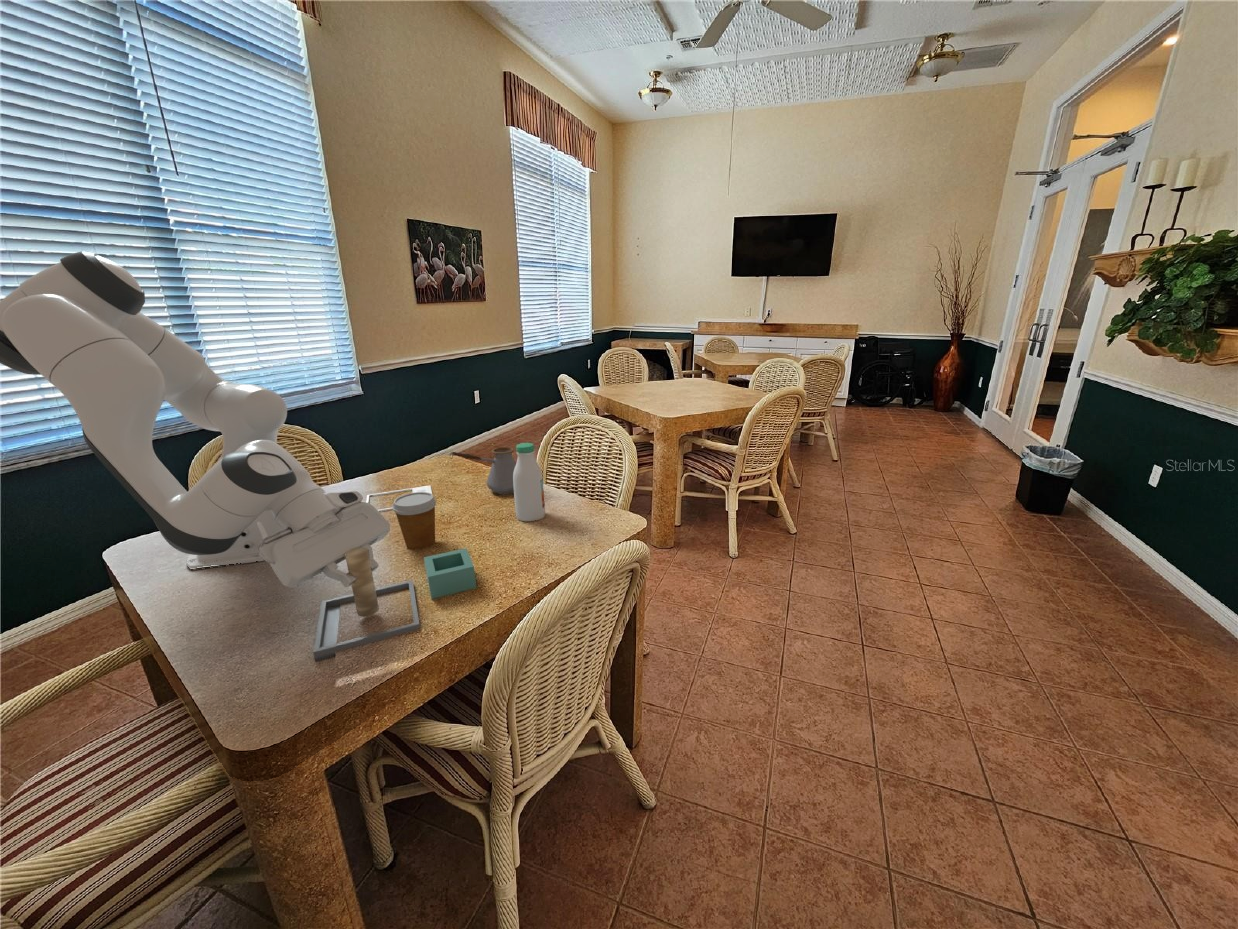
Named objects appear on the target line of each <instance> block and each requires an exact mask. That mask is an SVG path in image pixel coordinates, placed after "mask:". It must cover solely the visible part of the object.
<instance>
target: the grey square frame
mask: <svg viewBox="0 0 1238 929" xmlns="http://www.w3.org/2000/svg"><path fill="white" fill-rule="evenodd" d="M414 587H415V586H414V581H413V579H412V580H407V581H403V582H399V583H394V584H389V585H385V586H380V587H377V588H376V587H375V590H376V596H380V595H384V594H387V593H392V592H396V591H400V590H404V589H407V588H408V589H409V595H410V603H411V610H412V618H413V622H412V623H408V624H405V625H400V626H396V627H392V628H390V629H385V630H381V631H378V632H373V633H371V634H366V635H362V636H359V637H355V638H351V639H347V640H344V641H340V642H338V632H339V624H340V612H341V611H340V610H341V605H342V604H345V603H349V602H355V600H354V595H353V593H351V594H346V595H342V596H337V597H334V598H330V599H325V600H324V599H323V600H321V602H320V608H319V615H318V620H317V625H316V626H317V627H316V633H315V638H314V645H313V651H312V653H313V656H314V657H313V658H314V661H315V662H319V661H323V660H326V659H329V658H333V657H336V653H338V652H340V651H341V652H342V651H345V650H349V649H353V648H357V647H358V646H362V645H367V644H370V643H374V642H378V641H381V640H385V639H388V638H392V637H393V638H394V637H395V636H399V635H405V634H407V633H410V632H415V631H418V630H421V626H420V620H419V612H418V607H417V600H416V593H415V588H414Z"/></svg>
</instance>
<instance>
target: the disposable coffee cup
mask: <svg viewBox="0 0 1238 929" xmlns="http://www.w3.org/2000/svg"><path fill="white" fill-rule="evenodd" d="M436 505H437V499H436V498H435V497H434V494H433V493H432V494H431V493H427V492H415V493H413V492H409V493H405V494H402V495H400V496H398V497H396V498H395V499H394V500H393V504H392V506H391V508H392V509H393V510H392V511H393V512H394V513H395V515H396V519H397V521H398V524H399V527H400V532H401V534H402V536H403V539H404V543H405V546H406V549H408V550H409V549H411V550H420V549H425V548H427V547H430V546H431V545H433V544H436Z"/></svg>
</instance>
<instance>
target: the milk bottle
mask: <svg viewBox="0 0 1238 929" xmlns="http://www.w3.org/2000/svg"><path fill="white" fill-rule="evenodd" d="M515 450H516V455H517V460H516V466H515V469H514V472H513V486H514V493H513V495H514V496H513V497H514V506H515V515H516V516H515V517H516V518H517V519H518V520H519V521H521V522H535V520H536V521H539V520H542V519H543V518H544V517H545V515H546V506H545V505H546V504H545V491H544V480H543V478H544V477H543V472H542V469H541V467H540V465H539V464H538V462H537V460H536V457H535V453H536V451H535V445H534V444H533V442H532V443H531V442H521V443H518V444H516V446H515ZM542 517H543V518H542Z"/></svg>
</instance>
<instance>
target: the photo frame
mask: <svg viewBox="0 0 1238 929" xmlns="http://www.w3.org/2000/svg"><path fill="white" fill-rule="evenodd" d="M410 491H412V493H415V492H427V493H431V494H432V495H433V492H432V487H431V484H429V485H425V486H424V485H423V486H417V487H411V488H403V489H398V490H391V491H385V492H384V491H383V492H379V493H370V494H367V495H366V500H365V502H367V503H369V500H370V497H377V496H383V495H392V494H396V493H404V492H410ZM377 510H378V511H379V512H380V513H383V512H387V511H394V510H393V509H392V507H387V508H380V509H377Z"/></svg>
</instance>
